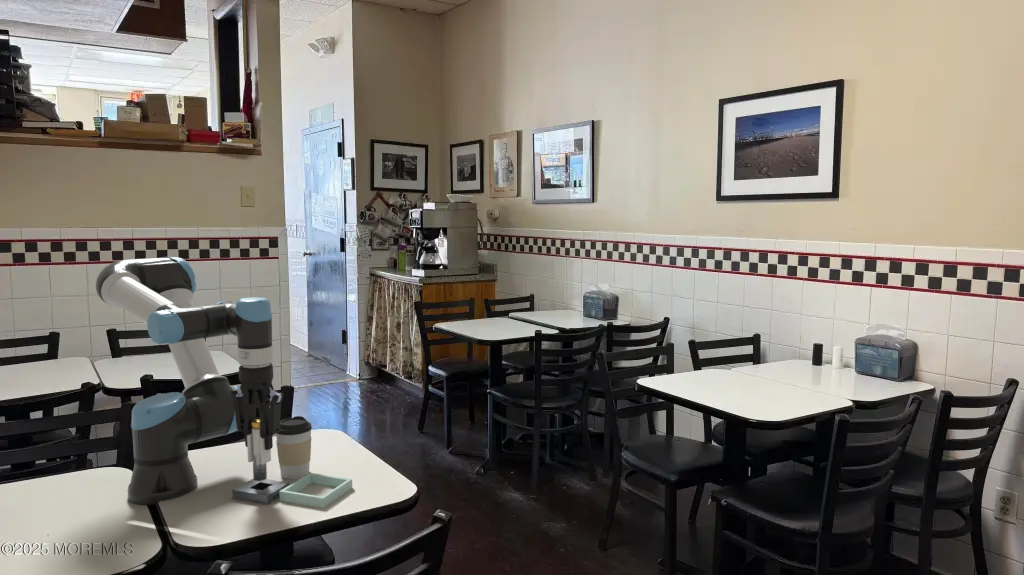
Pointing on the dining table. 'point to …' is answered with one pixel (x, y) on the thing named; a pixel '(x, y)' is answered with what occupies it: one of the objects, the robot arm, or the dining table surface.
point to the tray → (292, 496)
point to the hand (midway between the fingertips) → (259, 461)
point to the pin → (257, 452)
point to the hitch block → (259, 491)
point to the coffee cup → (294, 447)
